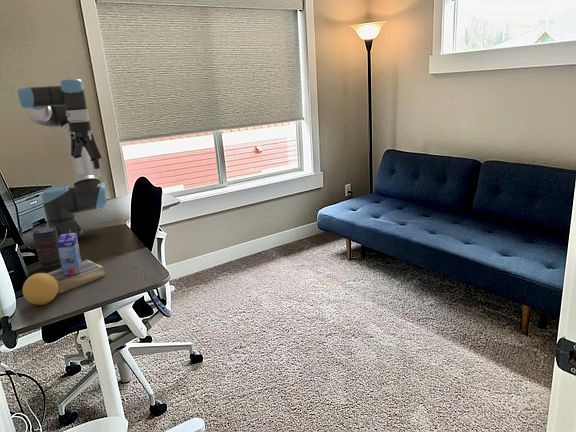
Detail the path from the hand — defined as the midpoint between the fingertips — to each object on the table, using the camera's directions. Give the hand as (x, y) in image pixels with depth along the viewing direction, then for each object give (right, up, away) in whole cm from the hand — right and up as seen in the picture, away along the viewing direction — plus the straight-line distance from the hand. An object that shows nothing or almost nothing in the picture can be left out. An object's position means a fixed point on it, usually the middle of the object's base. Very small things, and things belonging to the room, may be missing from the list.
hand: (89, 175), depth 175 cm
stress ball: (+2, -44, -35) cm, 56 cm away
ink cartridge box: (+4, -35, -21) cm, 41 cm away
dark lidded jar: (-12, -36, -6) cm, 38 cm away
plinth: (+4, -39, -19) cm, 44 cm away
